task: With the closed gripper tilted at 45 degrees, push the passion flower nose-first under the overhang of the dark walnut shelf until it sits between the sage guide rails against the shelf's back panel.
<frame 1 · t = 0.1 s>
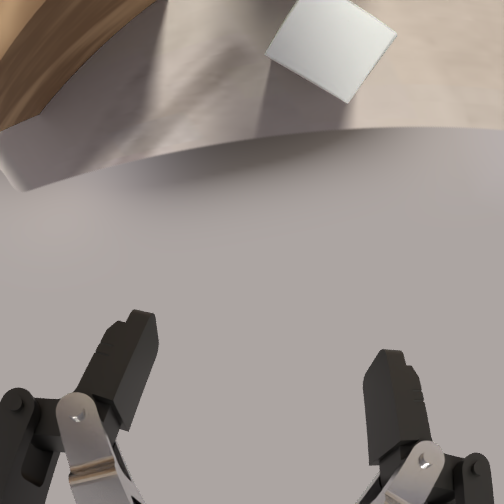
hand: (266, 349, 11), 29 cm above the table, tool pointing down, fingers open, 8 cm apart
supplement box: (317, 46, 29), on the table
shelf: (58, 5, 26), on the table
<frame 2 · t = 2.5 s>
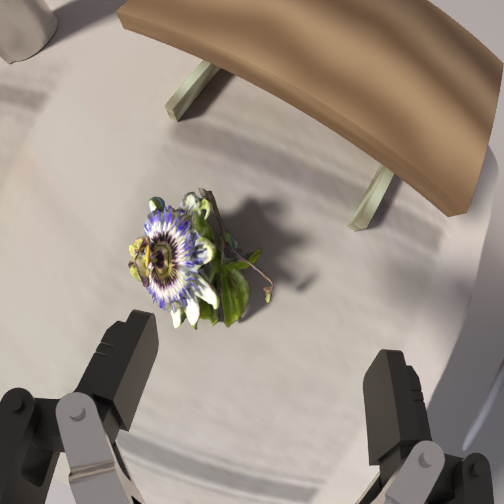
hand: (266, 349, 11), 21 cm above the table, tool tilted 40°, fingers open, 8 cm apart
passion flower: (203, 260, 32), on the table
shelf: (287, 131, 33), on the table
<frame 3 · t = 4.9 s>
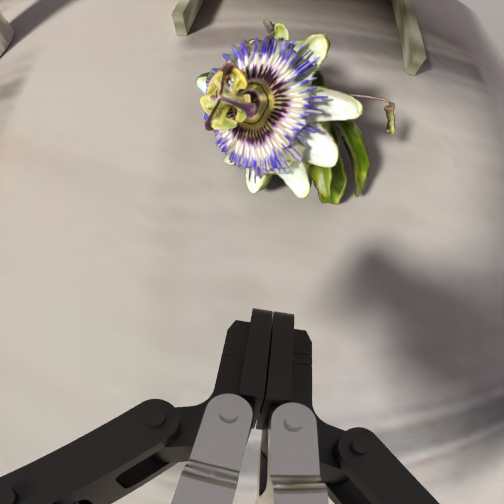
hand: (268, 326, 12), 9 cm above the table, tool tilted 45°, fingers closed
passion flower: (285, 141, 23), on the table
shelf: (302, 14, 26), on the table
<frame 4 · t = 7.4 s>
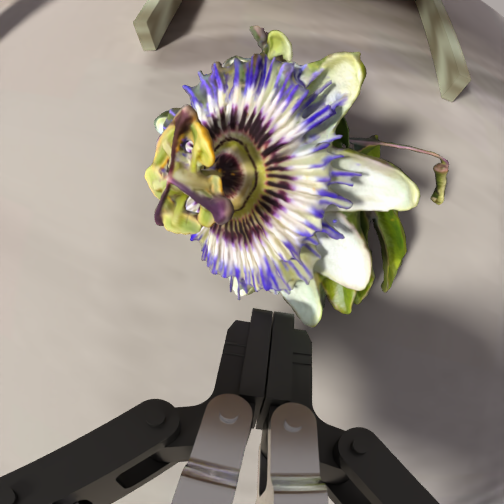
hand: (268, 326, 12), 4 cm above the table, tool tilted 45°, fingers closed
passion flower: (286, 204, 17), on the table, touching gripper
shelf: (307, 18, 20), on the table
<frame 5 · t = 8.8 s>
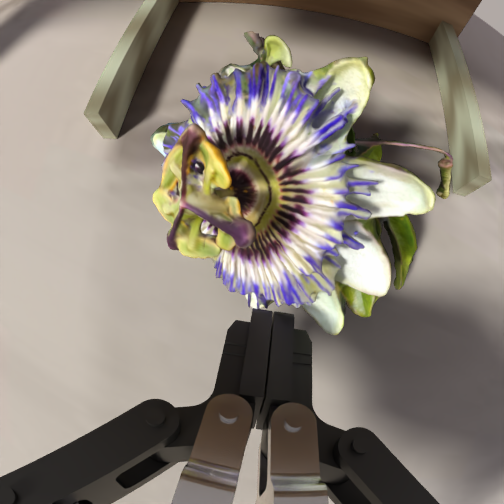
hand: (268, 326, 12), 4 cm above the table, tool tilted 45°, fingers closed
passion flower: (291, 210, 17), on the table, touching gripper
shelf: (299, 85, 18), on the table
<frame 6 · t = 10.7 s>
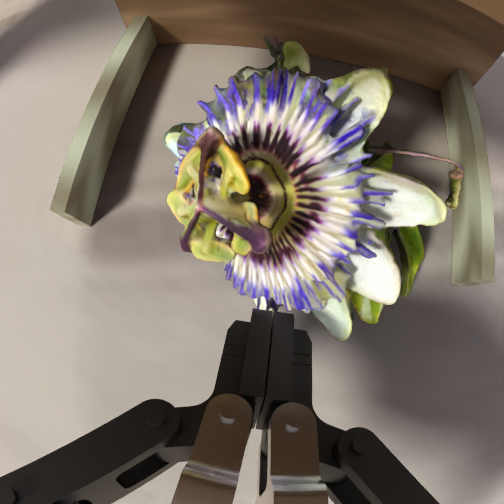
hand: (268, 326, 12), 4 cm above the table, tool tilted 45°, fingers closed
passion flower: (301, 214, 17), on the table, touching gripper
shelf: (289, 162, 17), on the table
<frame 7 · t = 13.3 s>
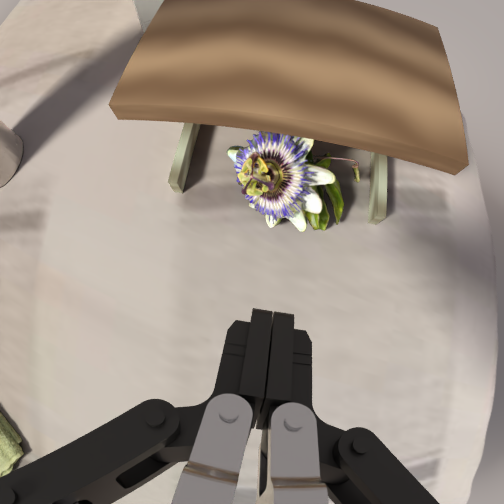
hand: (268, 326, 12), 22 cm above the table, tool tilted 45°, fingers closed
passion flower: (288, 188, 36), on the table
supplement box: (163, 21, 41), on the table
shelf: (282, 163, 36), on the table
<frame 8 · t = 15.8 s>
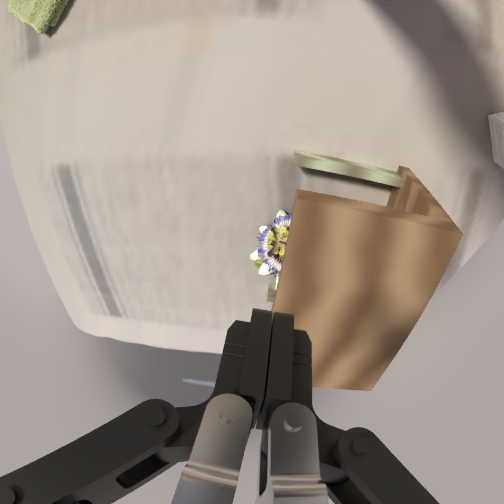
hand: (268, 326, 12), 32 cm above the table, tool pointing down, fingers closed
passion flower: (295, 235, 47), on the table
shelf: (316, 233, 46), on the table
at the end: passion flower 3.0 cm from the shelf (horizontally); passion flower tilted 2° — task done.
